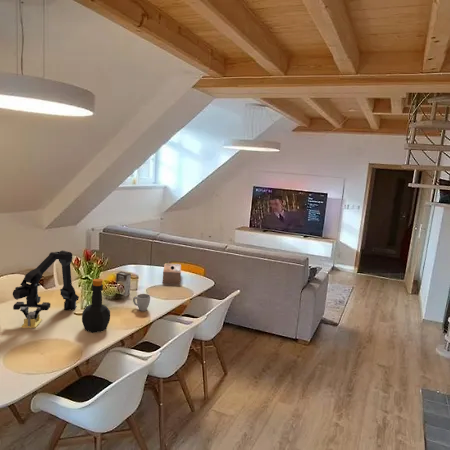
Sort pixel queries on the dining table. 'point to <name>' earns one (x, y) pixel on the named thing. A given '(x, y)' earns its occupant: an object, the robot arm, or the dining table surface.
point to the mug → (142, 301)
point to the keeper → (31, 322)
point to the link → (31, 315)
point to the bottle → (96, 311)
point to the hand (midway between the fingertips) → (32, 319)
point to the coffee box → (124, 281)
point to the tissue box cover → (172, 273)
